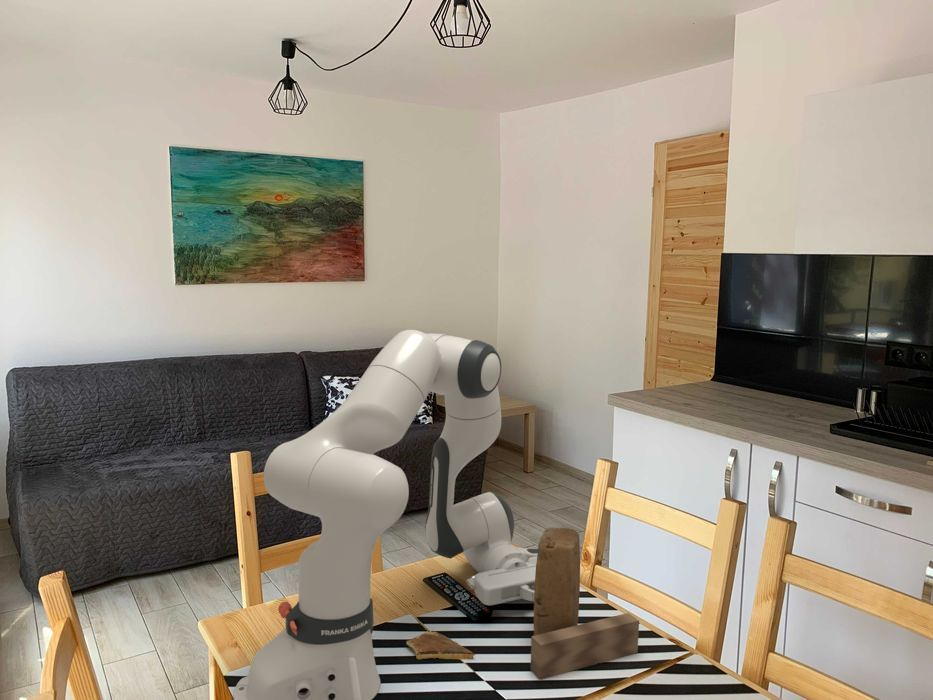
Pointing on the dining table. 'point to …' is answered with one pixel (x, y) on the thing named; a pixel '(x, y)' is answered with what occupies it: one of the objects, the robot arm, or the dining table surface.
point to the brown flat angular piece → (438, 647)
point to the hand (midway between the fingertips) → (544, 599)
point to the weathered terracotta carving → (557, 581)
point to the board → (584, 645)
